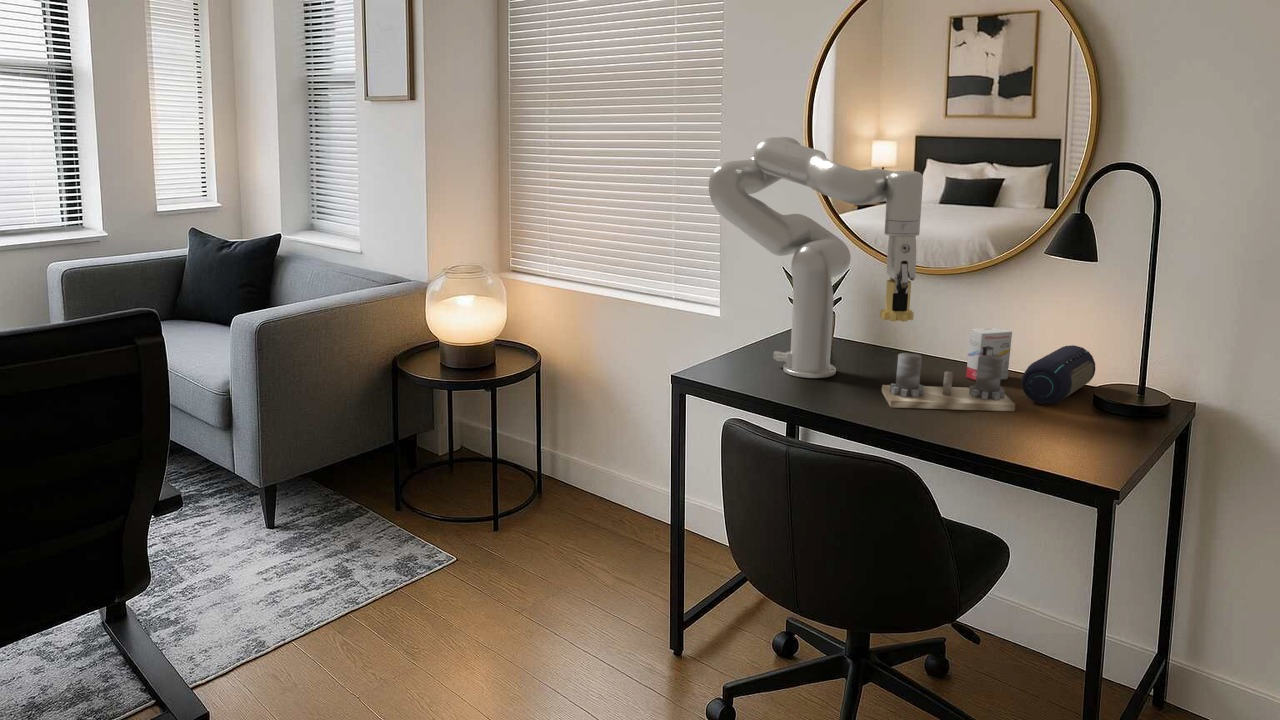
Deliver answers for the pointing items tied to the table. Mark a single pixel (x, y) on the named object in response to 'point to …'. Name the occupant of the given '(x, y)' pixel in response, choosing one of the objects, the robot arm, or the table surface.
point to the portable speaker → (1058, 374)
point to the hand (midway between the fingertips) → (897, 307)
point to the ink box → (988, 348)
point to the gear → (888, 311)
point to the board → (947, 401)
